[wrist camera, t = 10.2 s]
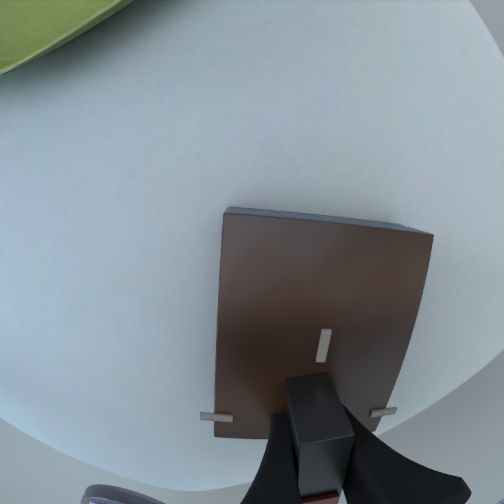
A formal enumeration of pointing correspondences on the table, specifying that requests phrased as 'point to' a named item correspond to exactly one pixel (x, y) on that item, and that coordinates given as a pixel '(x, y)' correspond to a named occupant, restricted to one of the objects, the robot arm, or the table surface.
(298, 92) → the table surface
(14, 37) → the green plate
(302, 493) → the stamp handle
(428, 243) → the stand
